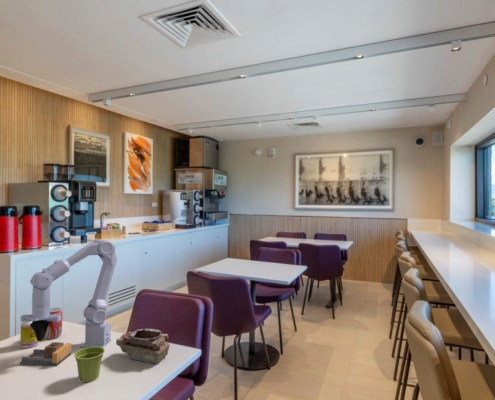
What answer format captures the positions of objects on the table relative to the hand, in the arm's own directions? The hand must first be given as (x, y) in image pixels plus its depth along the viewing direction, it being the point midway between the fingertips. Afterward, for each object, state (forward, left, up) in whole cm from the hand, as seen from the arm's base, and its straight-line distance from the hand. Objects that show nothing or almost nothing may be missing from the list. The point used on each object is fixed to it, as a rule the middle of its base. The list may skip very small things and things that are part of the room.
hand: (40, 339), depth 124 cm
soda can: (+9, -21, -8) cm, 24 cm away
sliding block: (-5, 0, -6) cm, 8 cm away
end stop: (-8, 0, -7) cm, 11 cm away
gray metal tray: (-2, 0, -7) cm, 8 cm away
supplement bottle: (+13, -12, -8) cm, 19 cm away
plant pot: (-25, +12, -8) cm, 29 cm away
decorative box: (-38, -2, -8) cm, 38 cm away
